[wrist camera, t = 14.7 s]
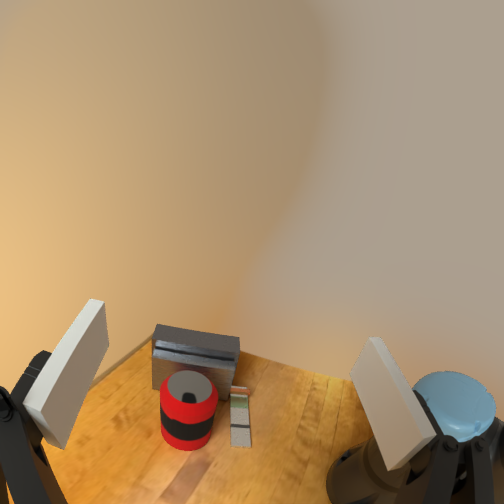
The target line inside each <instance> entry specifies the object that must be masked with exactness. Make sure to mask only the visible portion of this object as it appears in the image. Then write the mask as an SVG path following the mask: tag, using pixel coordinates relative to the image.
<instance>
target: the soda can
mask: <svg viewBox="0 0 504 504" xmlns="http://www.w3.org/2000/svg"><path fill="white" fill-rule="evenodd" d="M217 402H218V391H217V389H216V387H215V386H214V384H213V383H212V382H211V381H210V380H209V379H208V378H206V377H205V376H204V375H202V374H200V373H198V372H195V371H189V370H185V371H179V372H177V373H175V374H173V375H170V376H169V377H167V378H166V379H165V380H164V381H163V383H162V384H161V387H160V413H161V433H162V436H163V438H164V439H165V441H166V442H167V443H168V444H170V445H171V446H172V447H174V448H176V449H179V450H184V451H192V450H197V449H199V448H201V447H203V446H204V445H205V444H206V443H207V442H208V440H209V437H210V433H211V429H212V424H213V420H214V415H215V411H216V407H217Z"/></svg>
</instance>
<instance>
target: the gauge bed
mask: <svg viewBox="0 0 504 504" xmlns="http://www.w3.org/2000/svg"><path fill="white" fill-rule="evenodd" d="M154 349H158V350H163V351H169V352H174V353H180V354H187V355H193V356H200V357H206V358H211V359H218V360H226V361H233V362H235V370H236V366H237V362H238V359H239V355H240V342H239V337H234V336H227V335H219V334H213V333H206V332H200V331H194V330H188V329H182V328H177V327H171V326H166V325H161V324H157V325H156V328H155V331H154V334H153V337H152V355H153V351H154ZM234 374H235V373H234ZM233 378H234V377H233ZM232 382H233V381H232ZM231 388H241V389H247V387H238V386H232V385H231ZM230 440H231V447H234V448H250V447H251V442H250V426H249V413H248V397H247V395H238V394H230Z"/></svg>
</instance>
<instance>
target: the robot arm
mask: <svg viewBox="0 0 504 504" xmlns="http://www.w3.org/2000/svg"><path fill="white" fill-rule="evenodd" d="M108 347H109V340H108V332H107V323H106V314H105V303H104V302H103V301H99V300H94V299H90V300H89V301H88V302H87V304H86V305H85V307H84V308H83V309H82V311H81V312H80V313H79V315H78V316H77V318H76V319H75V320H74V322H73V323H72V325H71V326H70V328H69V329H68V331H67V332H66V333H65V335H64V336H63V338H62V339H61V341H60V342H59V344H58V345H57V347H56V348H55V350H54V351H53V353H50V352H47V351H44V350H43V351H41V352H40V353H38V354H37V355H36V356H34V358H33V359H32V361H31V362H30V364H29V366H28V367H27V368H26V370H25V371H24V374H22V376H21V377H20V379H19V381H18V382H17V384H16V386H15V387H14V389H13V390H12V392H11V394H9V392H8V391H7V390H6V389H5V388H4V387H1V386H0V504H9V499H8V493H7V486H6V482H7V485H8V488H9V490H10V493H11V496H12V498H13V501H14V503H15V504H68V503H67V501H66V499H65V497H64V495H63V493H62V491H61V489H60V487H59V485H58V483H57V480H56V478H55V476H54V474H53V471H52V469H51V467H50V464H49V462H48V459H47V457H46V454H45V452H44V449H43V446H42V444H41V440H42V438H43V437H44V438H45V440H46V441H47V442H48V443H49V444H51V445H53V446H56V447H58V448H60V449H63V450H64V449H65V447H66V444H67V441H68V438H69V436H70V433H71V431H72V428H73V426H74V423H75V421H76V418H77V416H78V413H79V411H80V408H81V406H82V404H83V401H84V399H85V397H86V394H87V392H88V390H89V387H90V385H91V383H92V381H93V379H94V376H95V374H96V372H97V370H98V367H99V366H100V363H101V361H102V359H103V357H104V355H105V353H106V351H107V348H108ZM350 376H351V379H352V381H353V384H354V386H355V388H356V391H357V393H358V396H359V398H360V401H361V403H362V406H363V408H364V410H365V413H366V415H367V418H368V420H369V423H370V425H371V428H372V431H373V433H374V435H373V437H372V438H371V439H369V440H367V441H365V442H363V443H361V444H358V445H356V446H354V447H352V448H350V449H348V450H347V451H345V452H344V453H343V454H342V455H341V456H340V457H339V458H338V459H337V460H336V461H335V462H334V463H333V465H332V466H331V468H330V470H329V472H328V475H327V480H326V488H327V493H328V496H329V499H330V501H331V503H332V504H504V422H503V421H501V420H500V419H498V418H496V417H495V413H496V405H495V401H494V399H493V397H492V395H491V394H490V393H487V392H486V390H487V389H486V387H484V386H483V385H482V384H481V383H480V382H478V381H477V380H475V379H473V378H471V377H469V376H467V375H464V374H461V373H457V372H451V371H445V372H434V373H431V374H428V375H426V376H424V377H423V378H422V379H420V380H419V381H418V382H417V383H416V384H415V385H414V387H413V388H412V389H411V387H410V385H409V384H408V382H407V380H406V378H405V377H404V375H403V374H402V372H401V370H400V368H399V367H398V365H397V363H396V362H395V360H394V358H393V357H392V355H391V353H390V352H389V350H388V349H387V347H386V345H385V344H384V342H383V340H382V339H381V338H380V337H369V338H368V340H367V342H366V344H365V346H364V348H363V350H362V351H361V353H360V355H359V357H358V359H357V361H356V363H355V364H354V367H353V368H352V370H351V372H350Z"/></svg>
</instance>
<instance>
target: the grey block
mask: <svg viewBox="0 0 504 504" xmlns="http://www.w3.org/2000/svg"><path fill="white" fill-rule="evenodd" d="M185 370H189V371H195V372H198V373H200V374H202V375H204V376H205V377H206V378H208V379H209V380H210V381H211V382H212V383H213V384H214V386H215V387H216V389H217V391H218V399H219V400H228V396H229V394H238V395H250V389H241V388H231V385H232V381H233V377H234V373H235V362H233V361H226V360H218V359H211V358H204V357H200V356H193V355H185V354H180V353H174V352H169V351H163V350H158V349H154V351H153V355H152V386H153V389H156V390H160V387H161V384H162V383H163V381H164V380H165V379H166V378H167V377H169V376H170V375H173V374H175V373H177V372H179V371H185Z"/></svg>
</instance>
